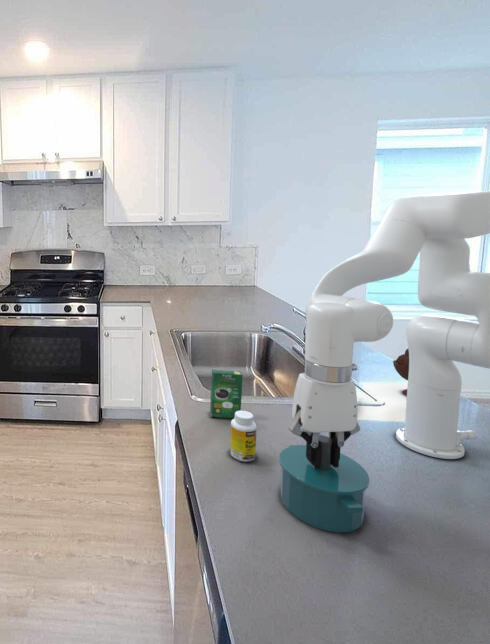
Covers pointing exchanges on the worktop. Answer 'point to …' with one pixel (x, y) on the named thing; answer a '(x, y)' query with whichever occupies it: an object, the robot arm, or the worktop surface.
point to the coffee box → (225, 393)
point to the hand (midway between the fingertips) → (322, 462)
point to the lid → (324, 470)
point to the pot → (322, 506)
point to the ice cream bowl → (403, 366)
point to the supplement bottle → (243, 436)
